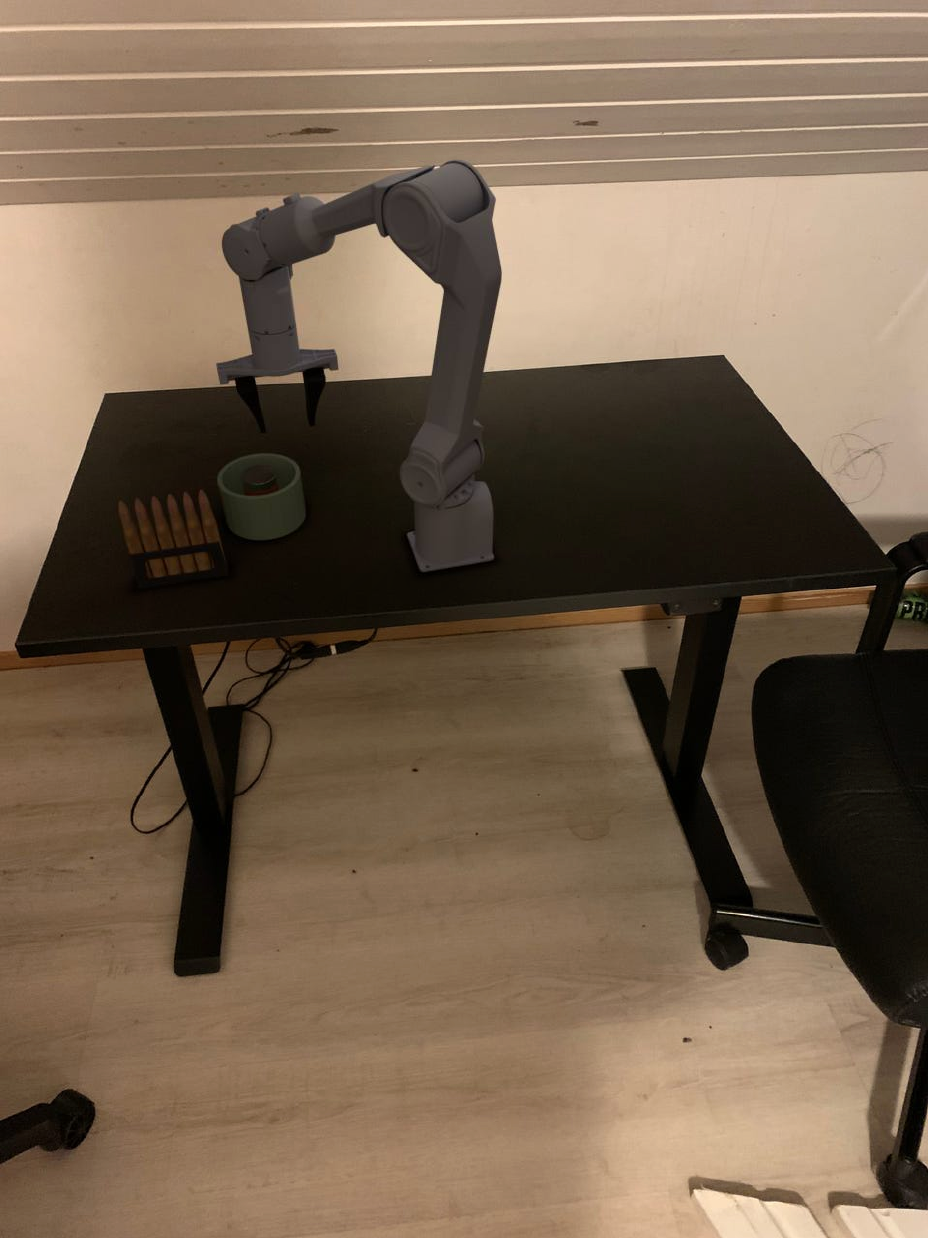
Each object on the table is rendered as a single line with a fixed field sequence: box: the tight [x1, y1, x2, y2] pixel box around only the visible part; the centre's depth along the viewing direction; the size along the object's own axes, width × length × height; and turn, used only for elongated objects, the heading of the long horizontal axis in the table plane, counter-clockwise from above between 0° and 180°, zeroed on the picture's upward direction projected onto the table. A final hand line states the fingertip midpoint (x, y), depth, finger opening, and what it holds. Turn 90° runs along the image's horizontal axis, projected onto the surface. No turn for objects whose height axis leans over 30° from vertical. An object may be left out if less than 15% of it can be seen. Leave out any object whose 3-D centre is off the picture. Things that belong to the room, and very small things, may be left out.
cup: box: [216, 452, 307, 541], centre depth 113 cm, size 10×10×6 cm
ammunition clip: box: [118, 489, 230, 590], centre depth 101 cm, size 11×2×12 cm, turn 104°
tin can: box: [241, 465, 279, 496], centre depth 112 cm, size 4×4×6 cm
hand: (287, 425), depth 112 cm, fingers open, 6 cm apart
